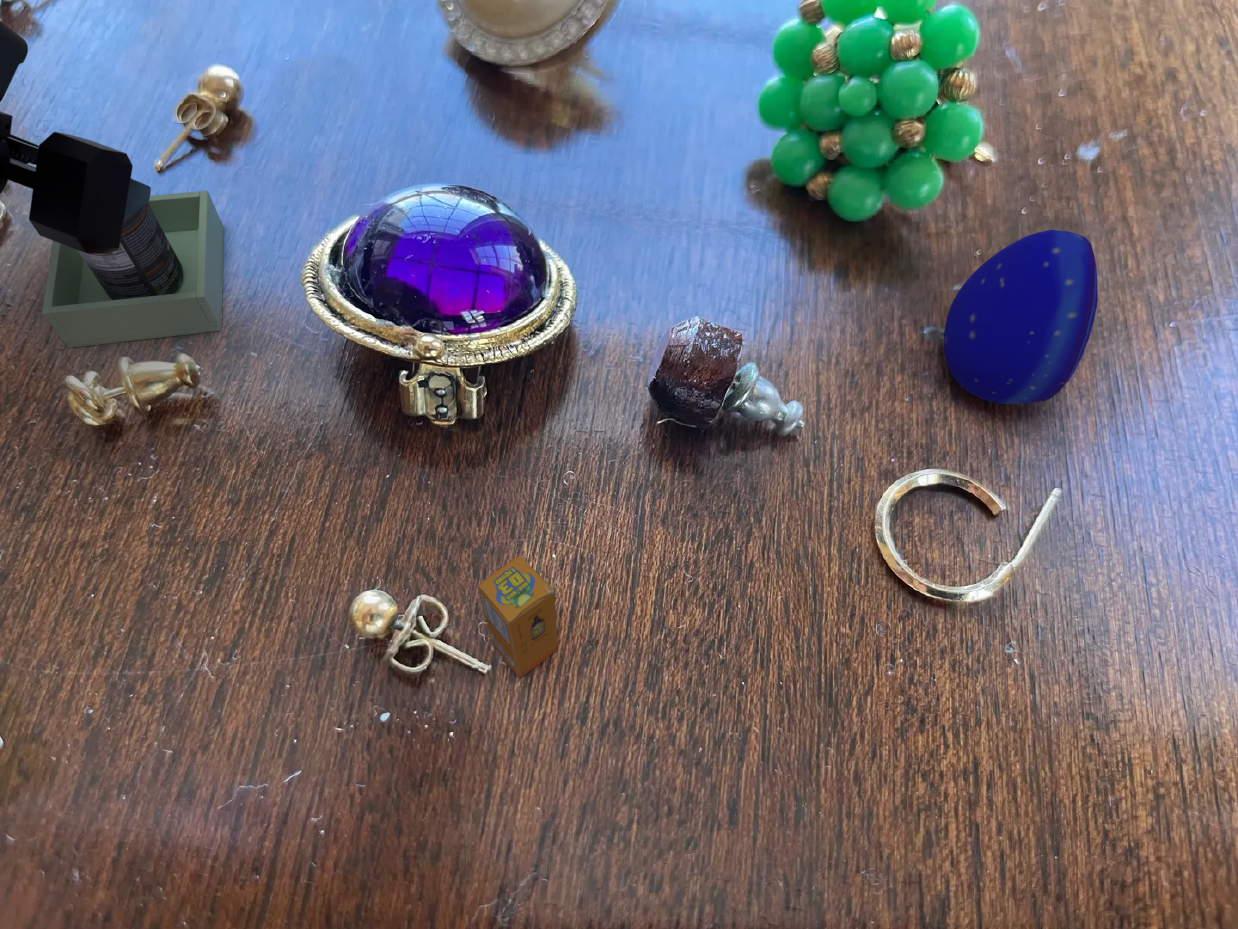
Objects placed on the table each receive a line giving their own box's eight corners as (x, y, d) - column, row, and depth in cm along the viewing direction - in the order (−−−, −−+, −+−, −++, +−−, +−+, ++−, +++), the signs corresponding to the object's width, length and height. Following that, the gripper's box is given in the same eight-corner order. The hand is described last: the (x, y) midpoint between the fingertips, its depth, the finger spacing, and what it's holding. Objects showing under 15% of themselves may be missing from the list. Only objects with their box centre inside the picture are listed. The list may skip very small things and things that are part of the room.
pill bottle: (159, 242, 72) (98, 128, 62) (200, 283, 70) (142, 172, 60) (91, 279, 70) (16, 166, 60) (131, 323, 68) (60, 214, 58)
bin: (68, 348, 67) (41, 313, 64) (82, 240, 72) (57, 203, 69) (221, 331, 69) (204, 296, 65) (224, 227, 74) (207, 190, 71)
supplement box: (527, 611, 59) (523, 549, 50) (559, 650, 58) (560, 594, 49) (487, 640, 58) (475, 583, 49) (518, 681, 57) (512, 629, 48)
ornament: (1046, 437, 69) (1160, 314, 56) (930, 423, 69) (1018, 297, 56) (1027, 327, 74) (1127, 192, 61) (920, 314, 74) (997, 176, 61)
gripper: (25, 31, 43) (230, 95, 58) (-274, -73, 46) (-4, 13, 60) (-3, 253, 46) (198, 259, 61) (-282, 144, 49) (-24, 175, 63)
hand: (92, 173), depth 61 cm, fingers open, 9 cm apart
